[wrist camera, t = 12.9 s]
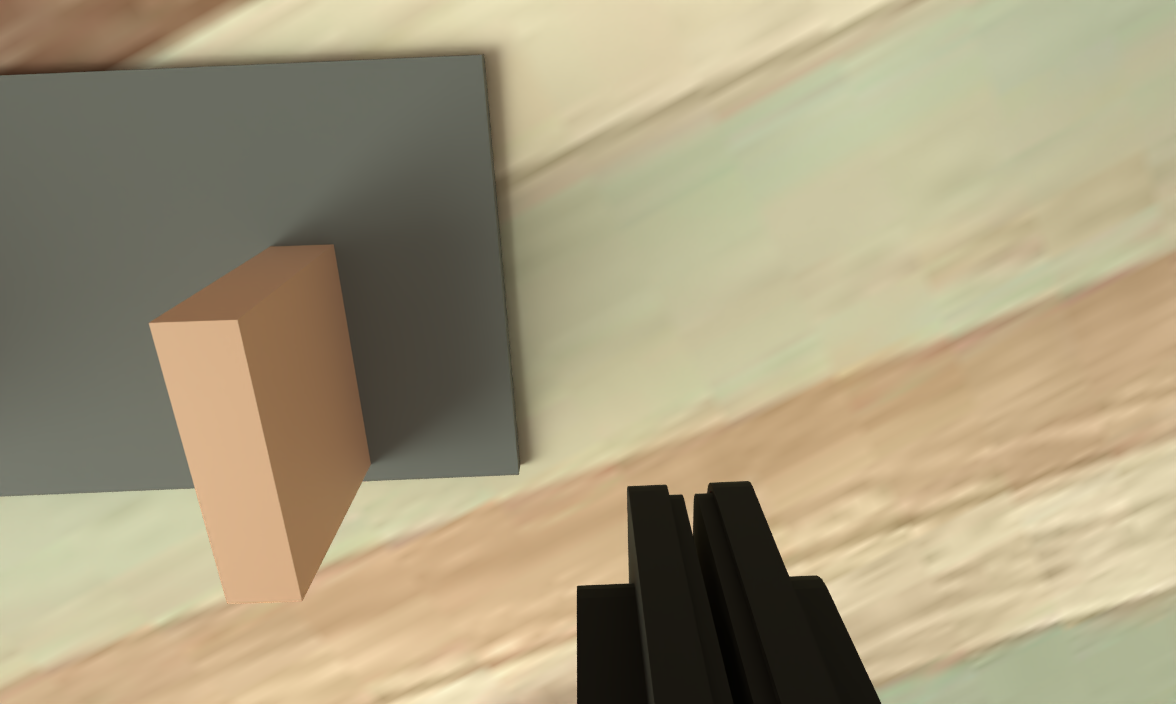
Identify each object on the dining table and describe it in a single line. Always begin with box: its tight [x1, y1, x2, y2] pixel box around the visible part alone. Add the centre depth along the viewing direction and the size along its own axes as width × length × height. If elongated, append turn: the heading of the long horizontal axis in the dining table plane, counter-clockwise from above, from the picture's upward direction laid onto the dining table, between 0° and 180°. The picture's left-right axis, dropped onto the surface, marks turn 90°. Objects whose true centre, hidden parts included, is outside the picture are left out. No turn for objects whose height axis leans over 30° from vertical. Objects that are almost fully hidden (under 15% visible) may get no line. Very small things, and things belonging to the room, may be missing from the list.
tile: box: [149, 244, 371, 604], centre depth 21 cm, size 2×8×7 cm, turn 2°
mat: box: [0, 55, 520, 496], centre depth 24 cm, size 20×14×1 cm
